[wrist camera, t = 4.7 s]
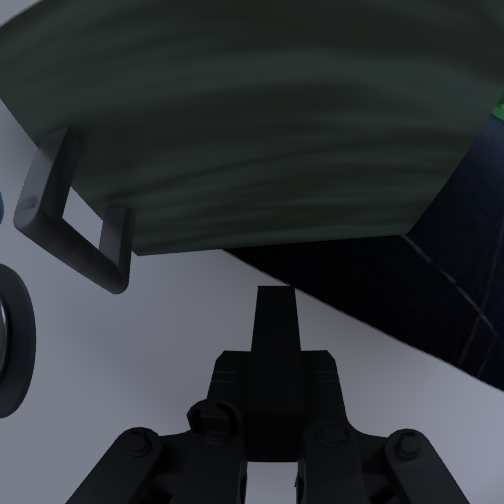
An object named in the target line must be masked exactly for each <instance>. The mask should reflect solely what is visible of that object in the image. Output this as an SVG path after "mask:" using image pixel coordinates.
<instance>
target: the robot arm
mask: <svg viewBox="0 0 504 504" xmlns="http://www.w3.org/2000/svg"><path fill="white" fill-rule="evenodd" d="M3 214H4V206H3V200H2V196H1V193H0V224H1V222H2V219H3ZM299 337H300V336H299V326H298V316H297V307H296V298H295V288H294V286H258V293H257V302H256V311H255V320H254V329H253V337H252V346H251V351H224V352H223V353H222V354H221V355H220V356H219V357H218V358H217V360H216V362H215V366H214V371H213V375H212V379H211V383H210V387H209V391H208V395H207V399H205V400H202V401H199V402H197V403H196V404H195V405H193V406H192V407H191V408H190V410H189V411H188V413H187V418H188V421H189V425H190V428H191V430H189V431H186V432H184V433H180V434H174V435H165V436H159V435H158V434H157V433H156V432H154V431H152V430H151V429H148V428H144V427H136V428H131V429H128V430H126V431H124V432H123V433H122V434H121V435H120V436H119V437H118V438H117V439H116V440H115V441H114V443H113V444H112V445H111V447H110V448H109V449H108V450H107V452H106V453H105V454H104V455H103V457H102V458H101V459H100V461H99V462H98V463H97V464H96V466H95V467H94V468H93V469H92V471H91V472H90V473H89V474H88V476H87V477H86V478H85V480H84V481H83V482H82V483H81V484H80V486H79V487H78V488H77V490H76V491H75V492H74V493H73V495H72V496H71V497H70V498H69V500H68V501H67V502H66V503H65V504H245V497H246V487H247V463H248V462H297V460H298V473H297V477H296V482H295V486H294V487H296V497H297V498H296V502H297V503H296V504H470V503H469V502H468V500H467V499H466V497H465V496H464V494H463V492H462V491H461V489H460V487H459V486H458V484H457V483H456V481H455V480H454V478H453V477H452V475H451V473H450V472H449V470H448V469H447V467H446V466H445V464H444V463H443V461H442V460H441V458H440V457H439V455H438V454H437V452H436V451H435V449H434V447H433V446H432V445H431V443H430V442H429V440H428V439H427V438H426V437H425V436H424V435H423V434H422V433H421V432H419V431H416V430H414V429H401V430H397V431H395V432H394V433H392V434H391V435H390V436H389V437H388V438H387V437H380V436H373V435H368V434H364V433H362V432H359V431H358V430H356V429H355V428H354V427H353V426H351V424H350V423H349V421H348V419H347V416H346V412H345V406H344V401H343V396H342V391H341V386H340V383H339V376H338V373H337V367H336V362H335V359H334V358H333V357H332V356H331V354H330V353H329V352H328V351H327V350H320V351H319V350H317V351H301V347H300V338H299ZM11 347H12V326H11V319H10V314H9V310H8V307H7V304H6V302H5V300H4V298H3V296H2V295H1V294H0V383H1V382H2V380H3V378H4V376H5V374H6V371H7V368H8V365H9V361H10V356H11Z"/></svg>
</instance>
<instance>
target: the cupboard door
mask: <svg viewBox="0 0 504 504" xmlns="http://www.w3.org/2000/svg"><path fill="white" fill-rule="evenodd" d="M503 92H504V0H39V1H37V2H35V3H33V4H32V5H30V6H28V7H27V8H25V9H24V10H22V11H20V12H19V13H18V14H16V15H14V16H13V17H11V18H10V19H8V20H7V21H5V22H4V23H2V24H1V25H0V98H1V100H2V101H3V103H4V104H5V105H6V107H7V108H8V109H9V111H10V112H11V114H12V115H13V116H14V118H15V119H16V120H17V121H18V123H19V124H20V125H21V127H22V128H23V129H24V130H25V132H26V133H27V134H28V136H29V137H30V138H31V139H32V141H33V142H34V143H35V144H36V146H37V147H38V150H37V153H36V155H35V157H34V160H33V162H32V165H31V167H30V170H29V172H28V175H27V177H26V180H25V183H24V186H23V189H22V191H21V194H20V197H19V200H18V204H17V206H16V210H15V213H14V220H13V222H14V226H15V228H16V229H17V230H19V231H20V232H21V233H23V234H24V235H25V236H27V237H28V238H29V239H31V240H32V241H34V242H35V243H36V244H38V245H39V246H40V247H42V248H43V249H45V250H46V251H47V252H49V253H50V254H52V255H53V256H55V257H56V258H58V259H59V260H61V261H62V262H63V263H65V264H67V265H68V266H70V267H71V268H73V269H74V270H76V271H77V272H79V273H80V274H82V275H83V276H85V277H86V278H88V279H90V280H91V281H93V282H94V283H96V284H98V285H99V286H101V287H102V288H104V289H106V290H108V291H109V292H111V293H112V294H120V293H122V292H124V291H125V290H126V288H127V287H128V284H129V274H130V262H131V251H133V252H134V253H135V254H136V255H137V256H145V255H156V254H168V253H179V252H190V251H203V250H214V249H227V248H239V247H251V246H263V245H275V244H287V243H300V242H312V241H325V240H338V239H350V238H363V237H376V236H389V235H403V234H407V233H408V232H409V231H410V229H411V228H412V227H413V226H414V224H415V223H416V222H417V221H418V219H419V218H420V217H421V216H422V214H423V213H424V212H425V210H426V209H427V208H428V206H429V205H430V204H431V202H432V201H433V200H434V198H435V197H436V196H437V194H438V193H439V192H440V190H441V189H442V188H443V186H444V185H445V184H446V182H447V181H448V179H449V178H450V177H451V175H452V174H453V172H454V171H455V169H456V168H457V166H458V165H459V164H460V162H461V161H462V159H463V158H464V156H465V155H466V153H467V152H468V150H469V149H470V147H471V146H472V144H473V142H474V141H475V139H476V138H477V136H478V135H479V133H480V131H481V130H482V128H483V127H484V125H485V123H486V122H487V120H488V118H489V117H490V115H491V113H492V111H493V110H494V108H495V106H496V105H497V103H498V101H499V99H500V97H501V96H502V94H503ZM70 186H71V187H72V188H73V189H74V190H75V191H76V192H77V193H78V194H79V196H80V197H81V198H82V199H83V200H84V201H85V202H86V203H87V204H88V206H89V207H90V208H91V209H92V210H93V211H94V212H95V213H96V214H97V215H98V216H99V217H100V218H101V219H102V220H103V226H102V231H101V238H100V244H99V250H98V249H97V248H96V247H95V246H93V245H92V244H91V243H90V242H89V241H88V240H86V239H85V238H84V237H83V236H82V235H81V234H80V233H78V232H77V231H76V230H75V229H74V228H73V227H72V226H70V225H69V224H68V223H67V222H66V221H65V220H64V219H63V218H62V216H63V212H64V208H65V204H66V200H67V197H68V193H69V190H70Z"/></svg>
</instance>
